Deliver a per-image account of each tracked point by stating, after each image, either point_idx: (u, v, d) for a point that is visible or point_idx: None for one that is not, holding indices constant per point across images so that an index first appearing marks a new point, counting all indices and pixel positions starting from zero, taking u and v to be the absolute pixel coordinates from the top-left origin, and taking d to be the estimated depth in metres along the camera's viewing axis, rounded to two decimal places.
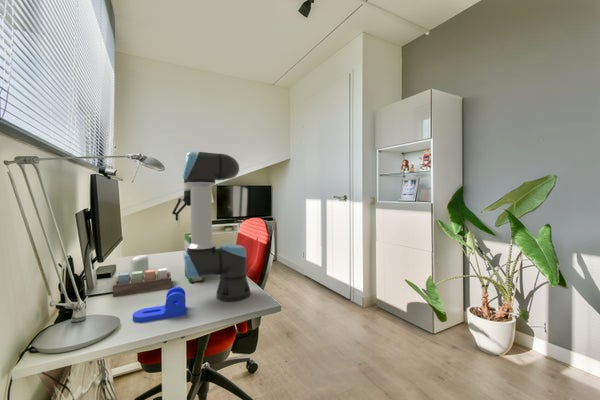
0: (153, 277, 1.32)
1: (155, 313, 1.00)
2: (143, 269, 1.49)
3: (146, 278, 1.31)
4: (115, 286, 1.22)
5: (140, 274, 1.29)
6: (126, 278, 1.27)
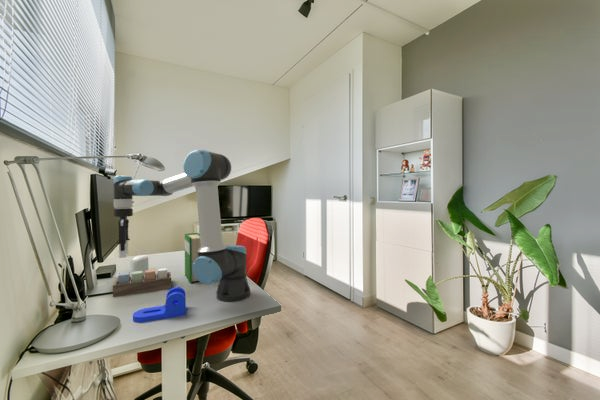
0: (153, 277, 1.32)
1: (155, 313, 1.00)
2: (143, 269, 1.49)
3: (146, 278, 1.31)
4: (115, 286, 1.22)
5: (140, 274, 1.29)
6: (126, 278, 1.27)
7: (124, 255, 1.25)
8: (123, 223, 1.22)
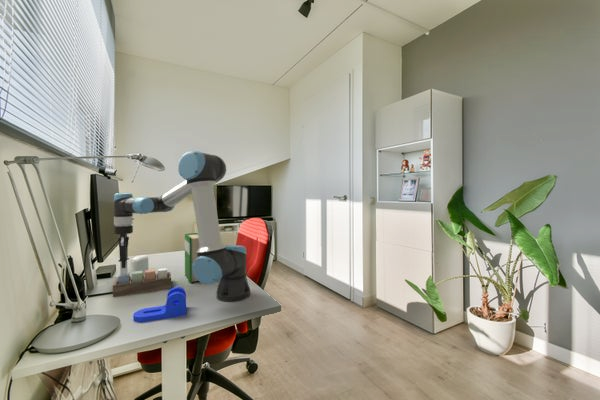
0: (153, 277, 1.32)
1: (156, 313, 1.00)
2: (143, 269, 1.49)
3: (146, 278, 1.31)
4: (115, 286, 1.22)
5: (140, 274, 1.29)
6: (126, 279, 1.27)
7: (125, 272, 1.28)
8: (123, 243, 1.23)
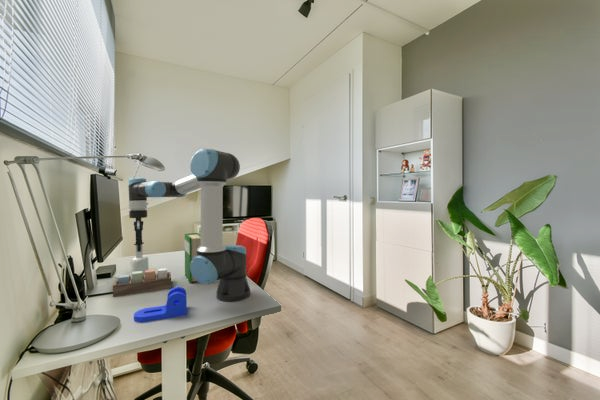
0: (153, 277, 1.32)
1: (156, 313, 1.00)
2: (143, 269, 1.49)
3: (146, 278, 1.31)
4: (115, 286, 1.22)
5: (140, 274, 1.29)
6: (126, 281, 1.27)
7: (140, 256, 1.30)
8: (139, 227, 1.25)
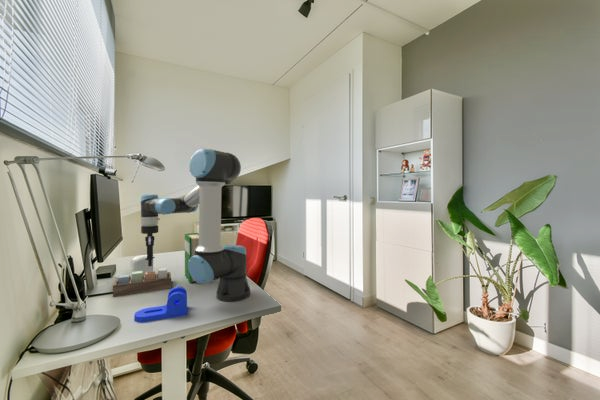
0: (153, 279, 1.32)
1: (157, 313, 1.00)
2: (143, 269, 1.49)
3: (146, 280, 1.31)
4: (115, 286, 1.22)
5: (140, 274, 1.29)
6: (126, 281, 1.27)
7: (151, 270, 1.33)
8: (151, 243, 1.28)
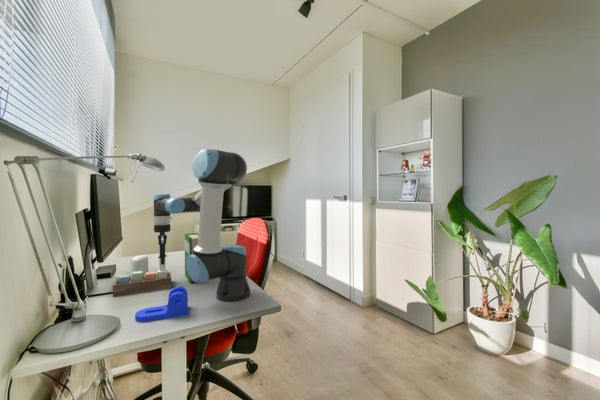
0: (153, 279, 1.32)
1: (157, 313, 1.00)
2: (143, 269, 1.49)
3: (146, 280, 1.31)
4: (115, 286, 1.22)
5: (140, 274, 1.29)
6: (126, 281, 1.27)
7: (163, 268, 1.36)
8: (163, 241, 1.31)
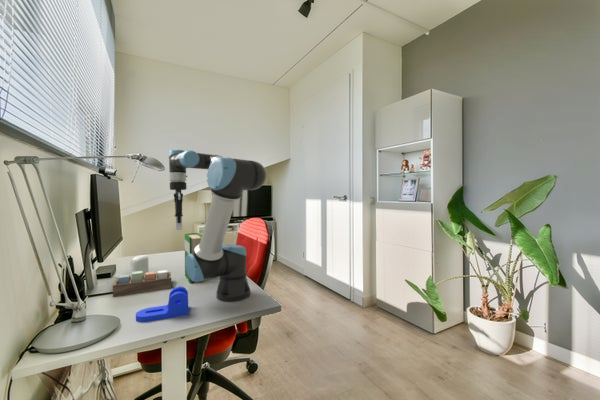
0: (153, 279, 1.32)
1: (158, 313, 1.00)
2: (143, 269, 1.49)
3: (146, 280, 1.31)
4: (115, 286, 1.22)
5: (140, 274, 1.29)
6: (126, 281, 1.27)
7: (180, 227, 1.31)
8: (180, 197, 1.26)
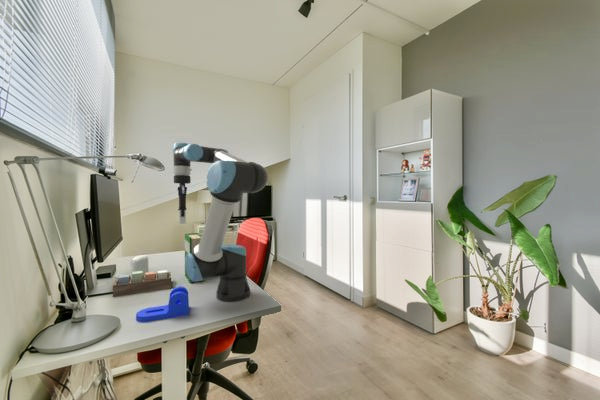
0: (153, 279, 1.32)
1: (158, 313, 1.00)
2: (143, 269, 1.49)
3: (146, 280, 1.31)
4: (115, 286, 1.22)
5: (140, 274, 1.29)
6: (126, 281, 1.27)
7: (184, 221, 1.30)
8: (184, 191, 1.25)
